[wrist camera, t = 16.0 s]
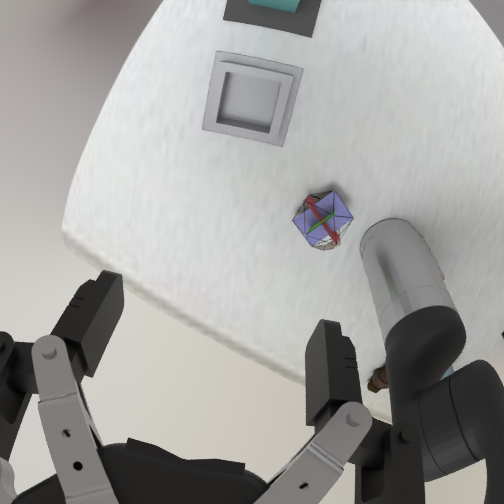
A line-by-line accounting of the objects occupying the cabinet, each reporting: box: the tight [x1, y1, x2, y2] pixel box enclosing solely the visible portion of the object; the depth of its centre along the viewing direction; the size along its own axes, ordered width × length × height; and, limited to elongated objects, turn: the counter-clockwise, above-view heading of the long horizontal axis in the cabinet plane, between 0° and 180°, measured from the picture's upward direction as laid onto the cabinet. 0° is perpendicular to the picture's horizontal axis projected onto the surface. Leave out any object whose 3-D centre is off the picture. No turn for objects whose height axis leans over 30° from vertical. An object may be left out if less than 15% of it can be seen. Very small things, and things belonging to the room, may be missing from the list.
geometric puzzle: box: [292, 190, 354, 251], centre depth 40 cm, size 7×7×8 cm
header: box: [202, 51, 303, 147], centre depth 34 cm, size 10×10×4 cm
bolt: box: [367, 366, 389, 393], centre depth 60 cm, size 6×5×15 cm
